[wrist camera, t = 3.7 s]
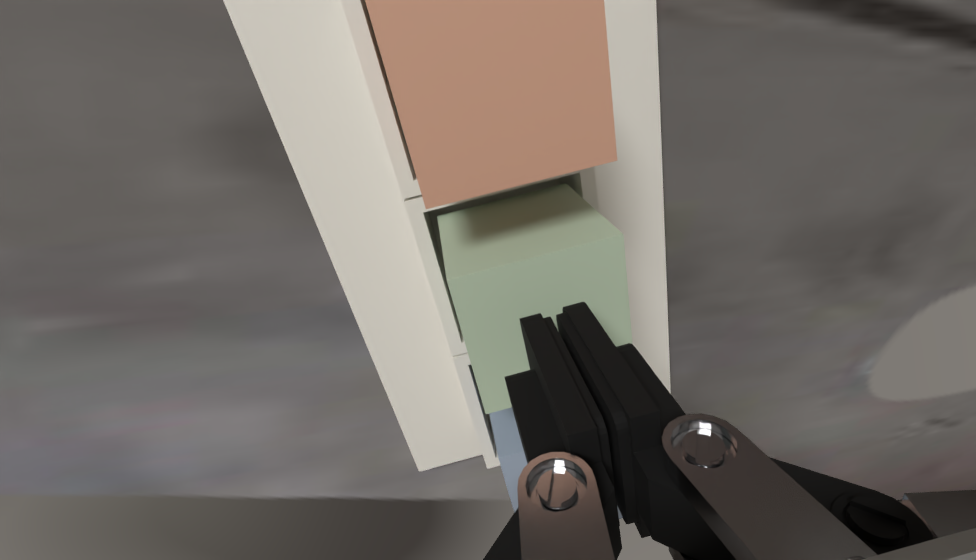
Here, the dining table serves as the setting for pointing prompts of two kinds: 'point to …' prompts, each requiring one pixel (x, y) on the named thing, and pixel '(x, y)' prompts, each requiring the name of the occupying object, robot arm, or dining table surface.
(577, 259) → the sage button
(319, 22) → the board
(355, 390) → the dining table surface
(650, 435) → the robot arm
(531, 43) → the terracotta button
